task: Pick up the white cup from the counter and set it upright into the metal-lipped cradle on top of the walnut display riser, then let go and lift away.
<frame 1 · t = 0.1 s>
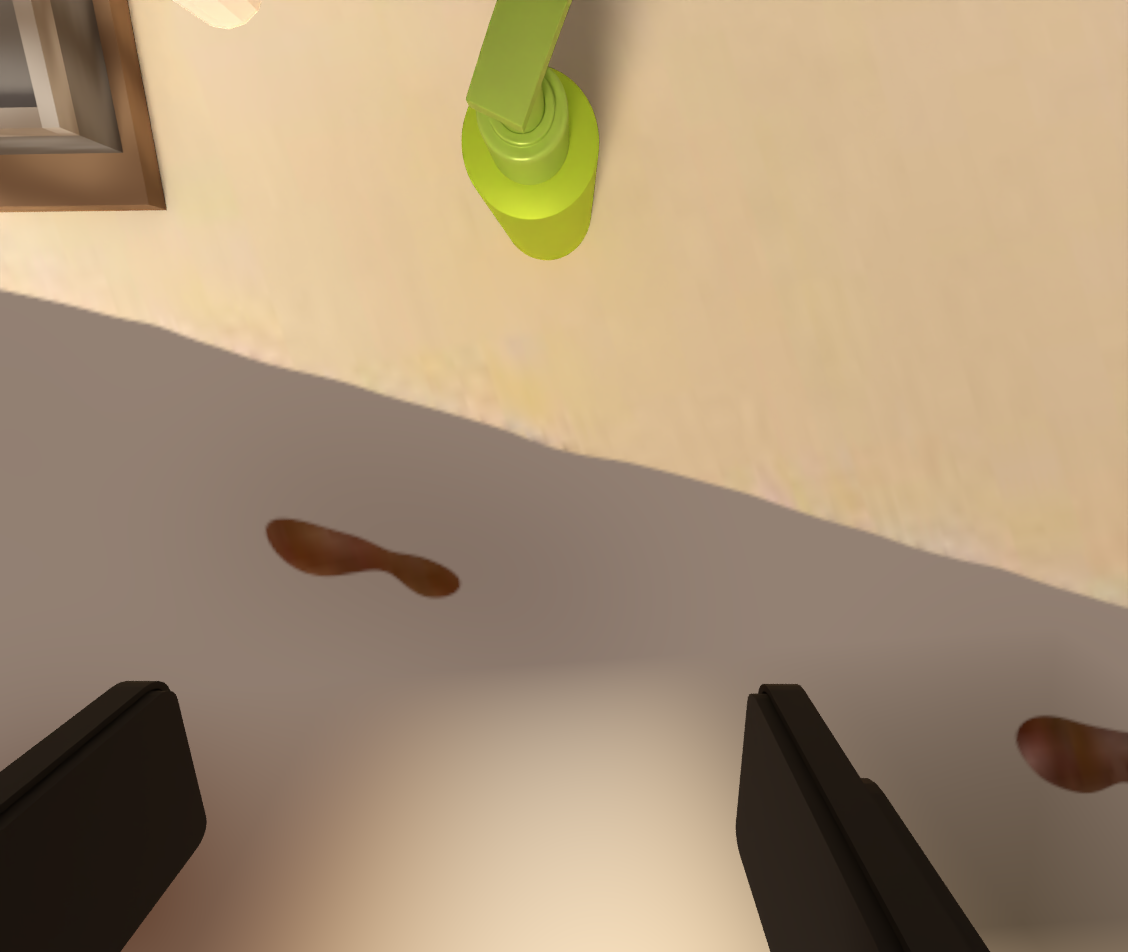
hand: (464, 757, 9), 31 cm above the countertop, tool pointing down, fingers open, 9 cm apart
soap dispenser: (550, 205, 35), on the countertop
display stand: (28, 55, 33), on the countertop
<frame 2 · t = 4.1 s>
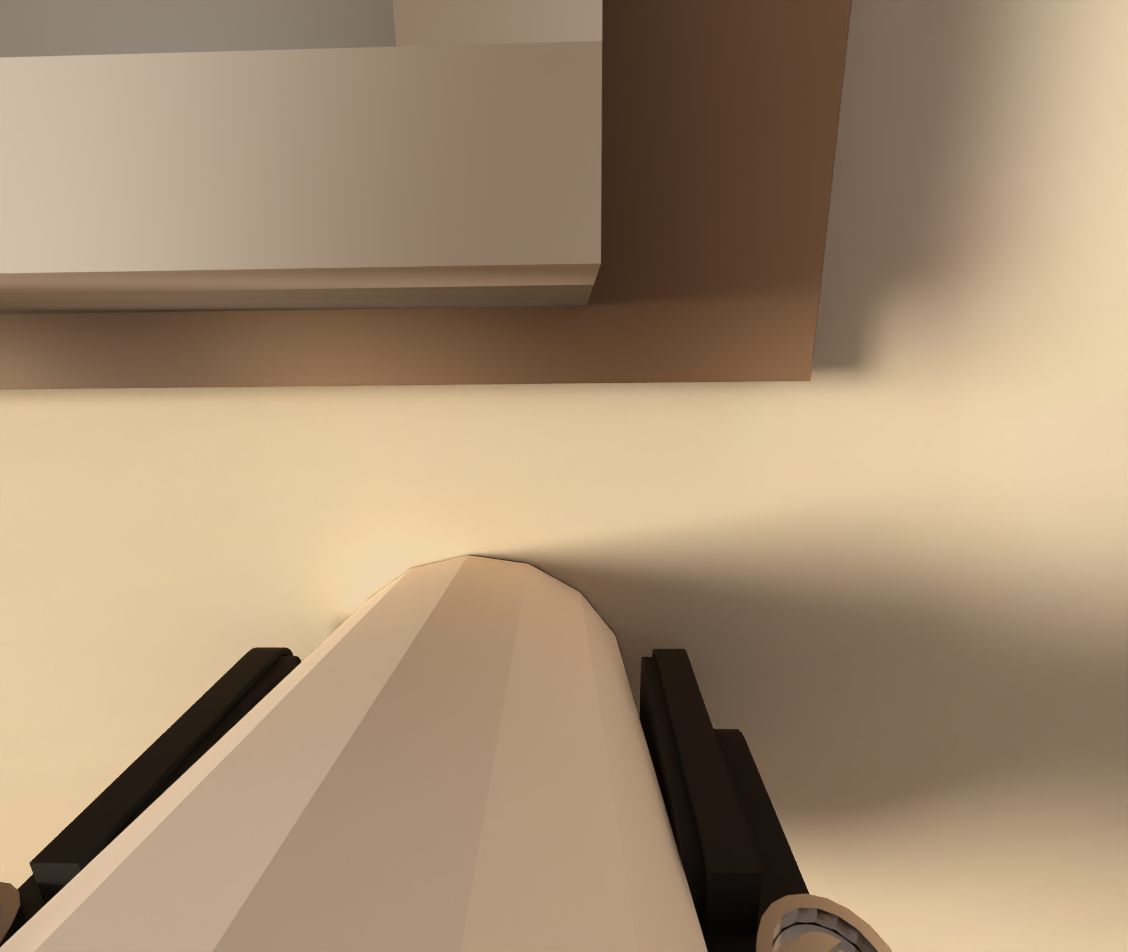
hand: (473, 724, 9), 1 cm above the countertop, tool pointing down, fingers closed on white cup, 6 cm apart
white cup: (484, 682, 10), on the countertop, touching gripper
when the fingers open (7 cm above the countertop, at t = 8.5 s): white cup drops 2 cm, resting on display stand.
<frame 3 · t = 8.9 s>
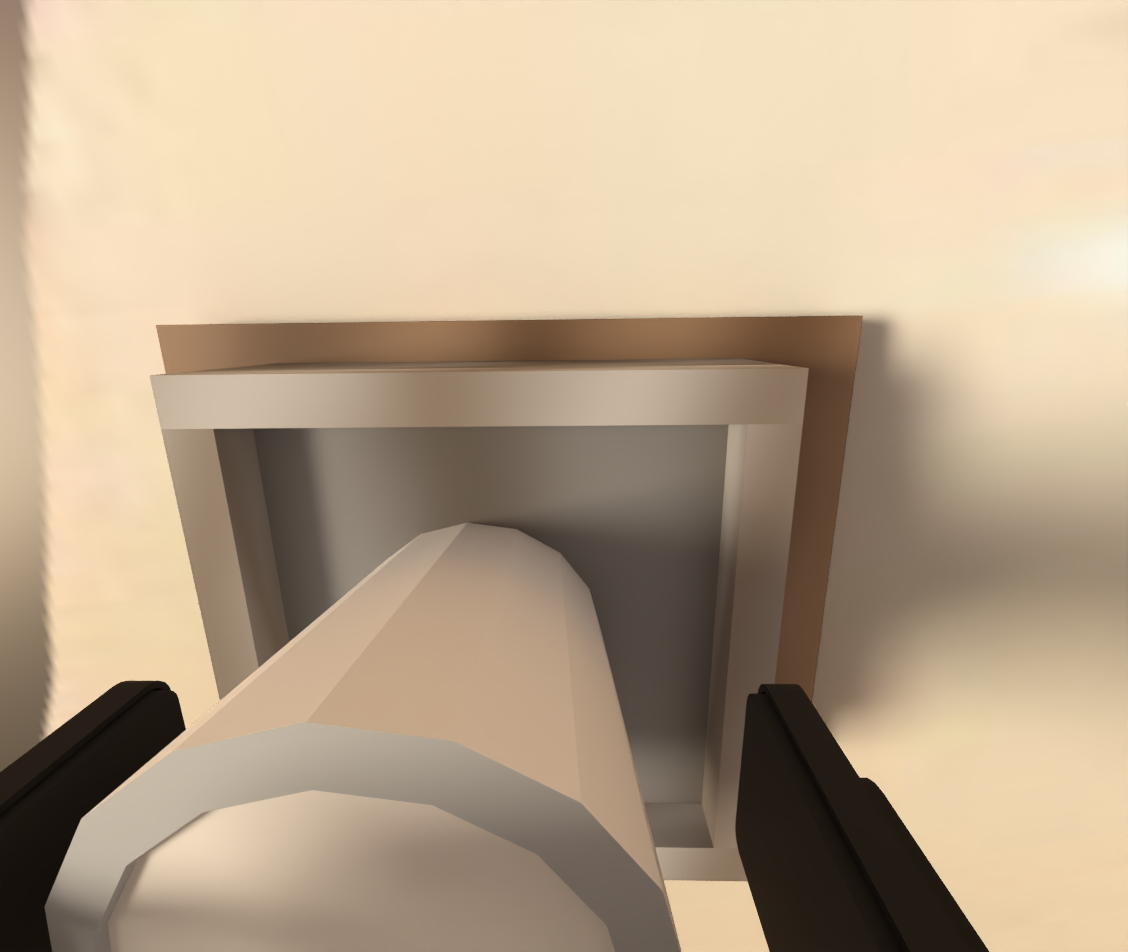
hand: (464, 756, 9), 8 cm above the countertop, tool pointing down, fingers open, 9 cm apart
white cup: (482, 630, 12), point 4 cm above the countertop, touching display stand
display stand: (518, 552, 17), on the countertop
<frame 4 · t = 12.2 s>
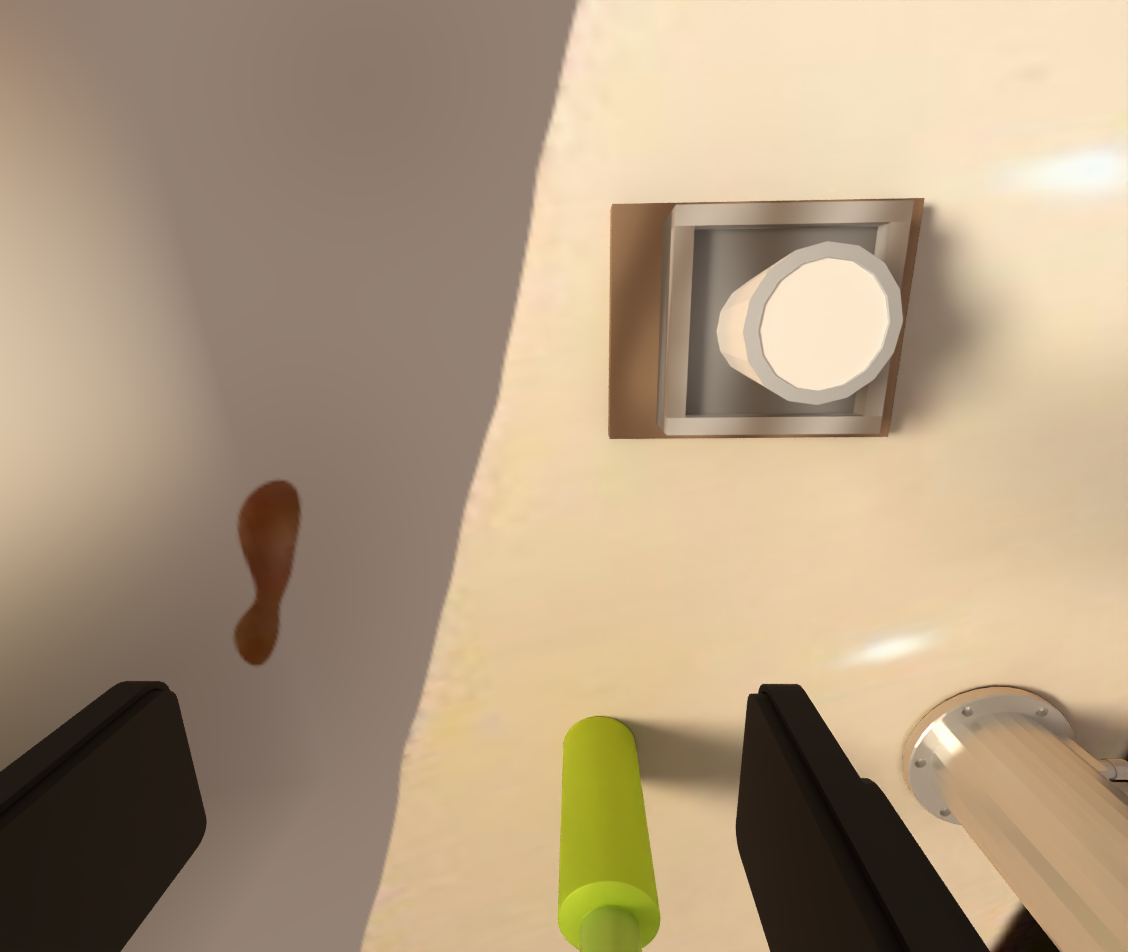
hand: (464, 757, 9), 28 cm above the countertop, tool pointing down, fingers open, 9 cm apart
soap dispenser: (605, 746, 43), on the countertop
white cup: (765, 328, 30), point 4 cm above the countertop, touching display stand
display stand: (749, 326, 34), on the countertop
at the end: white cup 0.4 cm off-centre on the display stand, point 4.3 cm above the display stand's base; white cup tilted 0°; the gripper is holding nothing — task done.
